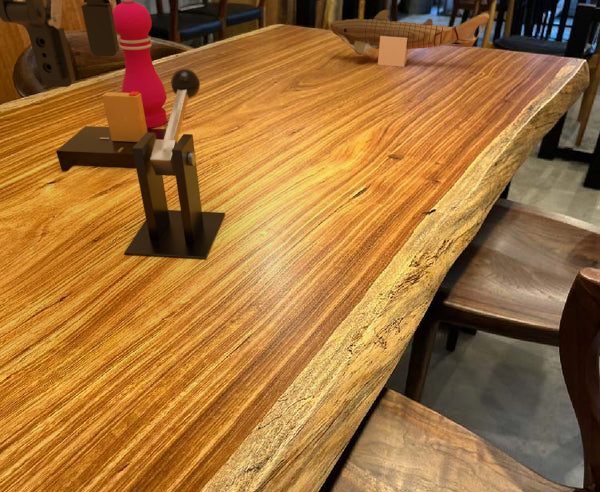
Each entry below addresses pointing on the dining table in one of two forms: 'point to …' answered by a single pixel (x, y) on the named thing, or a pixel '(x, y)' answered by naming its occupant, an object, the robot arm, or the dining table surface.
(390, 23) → the wood carving
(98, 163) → the plate
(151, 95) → the pepper mill
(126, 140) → the block
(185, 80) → the latch lever
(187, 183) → the bracket
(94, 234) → the dining table surface
